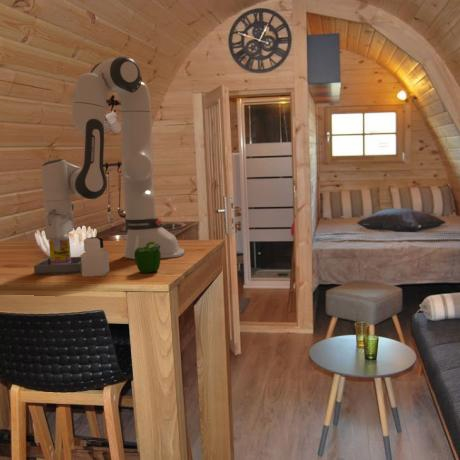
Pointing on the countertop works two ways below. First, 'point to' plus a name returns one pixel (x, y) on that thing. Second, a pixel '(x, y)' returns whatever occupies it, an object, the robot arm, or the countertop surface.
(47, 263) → the tray
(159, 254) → the bell pepper
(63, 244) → the supplement bottle
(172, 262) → the countertop surface
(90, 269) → the medicine bottle
